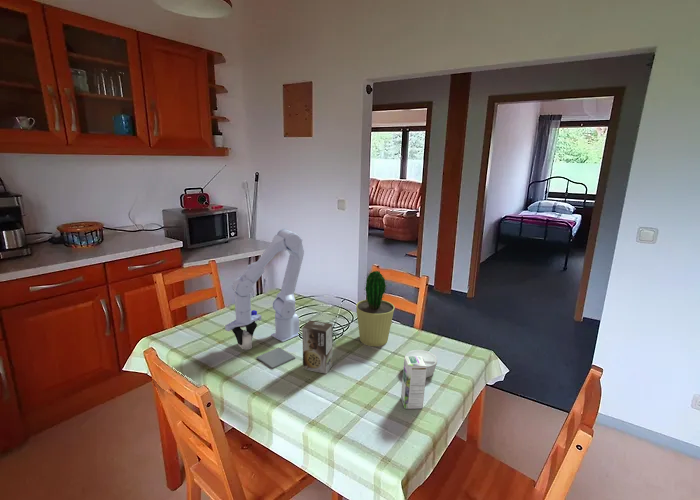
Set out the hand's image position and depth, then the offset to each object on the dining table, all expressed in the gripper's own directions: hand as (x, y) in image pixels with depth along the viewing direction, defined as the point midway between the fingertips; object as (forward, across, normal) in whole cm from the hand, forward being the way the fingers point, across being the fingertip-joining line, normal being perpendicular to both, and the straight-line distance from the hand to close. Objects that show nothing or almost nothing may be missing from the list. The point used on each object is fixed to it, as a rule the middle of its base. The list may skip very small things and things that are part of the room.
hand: (244, 342), depth 145 cm
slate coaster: (+2, -3, +16) cm, 16 cm away
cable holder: (+2, -14, -17) cm, 22 cm away
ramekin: (+2, -34, +58) cm, 67 cm away
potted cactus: (+2, -40, +32) cm, 51 cm away
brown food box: (+2, -10, +31) cm, 33 cm away
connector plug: (+2, 0, 0) cm, 2 cm away
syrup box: (+2, -17, +66) cm, 68 cm away
